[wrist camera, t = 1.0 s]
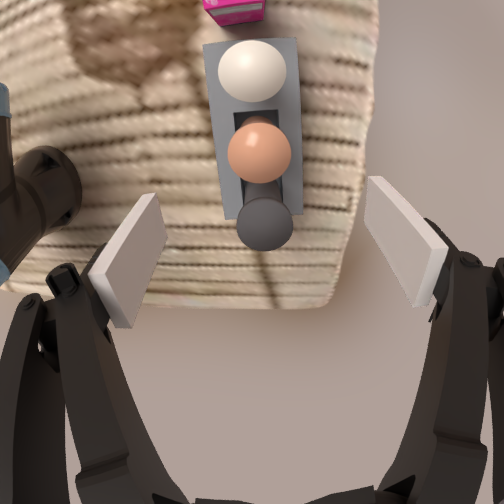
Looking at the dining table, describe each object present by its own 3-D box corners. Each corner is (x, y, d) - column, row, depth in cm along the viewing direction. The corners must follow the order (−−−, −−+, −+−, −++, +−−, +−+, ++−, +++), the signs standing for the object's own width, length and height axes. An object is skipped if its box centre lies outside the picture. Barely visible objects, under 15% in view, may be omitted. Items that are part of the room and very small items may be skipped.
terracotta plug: (236, 156, 32) (231, 185, 25) (231, 112, 29) (224, 126, 22) (282, 153, 32) (292, 181, 24) (279, 108, 29) (289, 121, 21)
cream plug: (230, 97, 28) (221, 105, 21) (225, 52, 25) (214, 44, 18) (278, 93, 28) (288, 100, 20) (274, 48, 25) (283, 38, 17)
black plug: (242, 210, 36) (239, 253, 29) (238, 170, 33) (233, 204, 26) (284, 207, 36) (293, 249, 28) (282, 167, 33) (292, 200, 25)
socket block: (228, 200, 42) (225, 219, 37) (210, 49, 30) (202, 44, 25) (296, 195, 42) (303, 214, 37) (289, 43, 29) (295, 37, 24)
